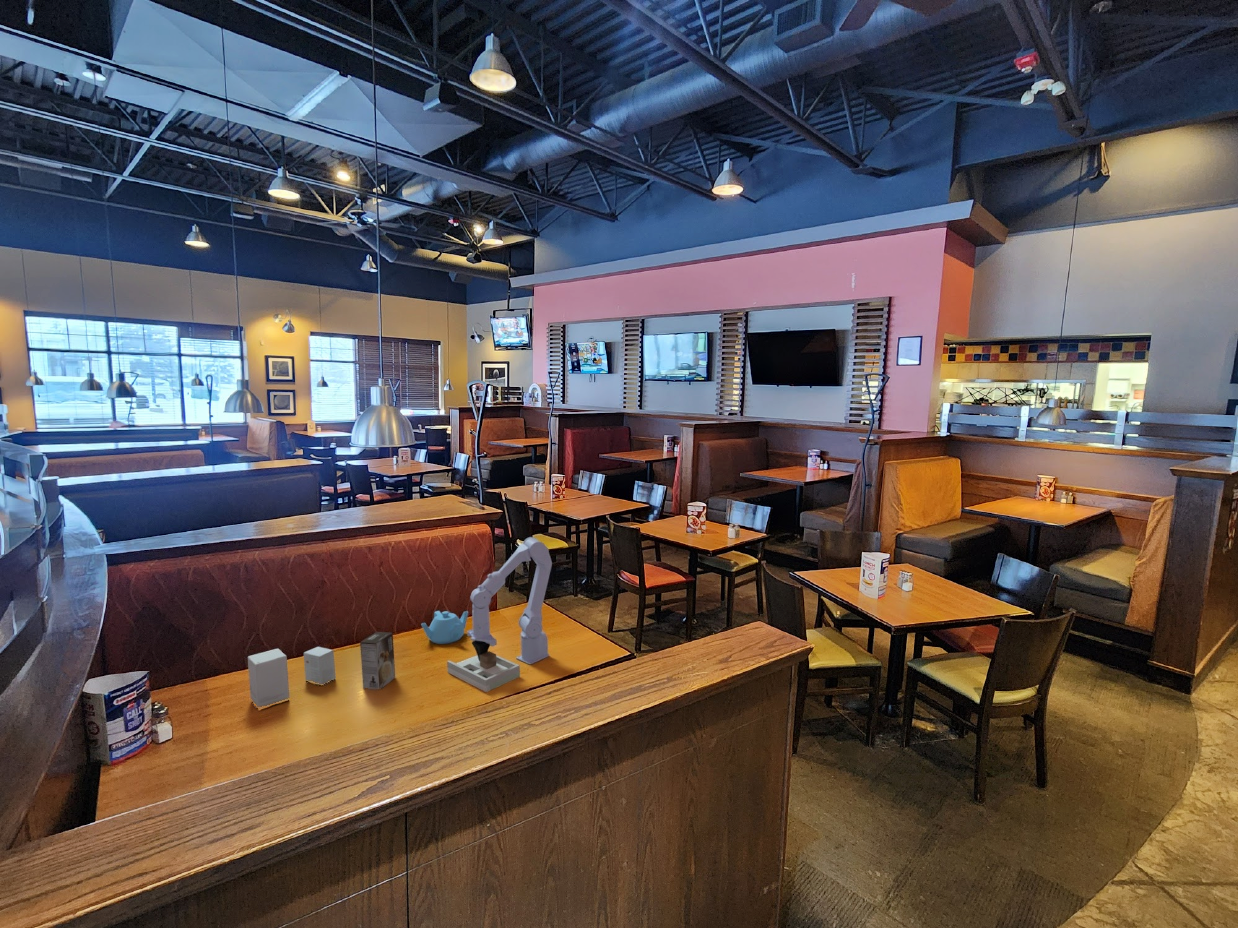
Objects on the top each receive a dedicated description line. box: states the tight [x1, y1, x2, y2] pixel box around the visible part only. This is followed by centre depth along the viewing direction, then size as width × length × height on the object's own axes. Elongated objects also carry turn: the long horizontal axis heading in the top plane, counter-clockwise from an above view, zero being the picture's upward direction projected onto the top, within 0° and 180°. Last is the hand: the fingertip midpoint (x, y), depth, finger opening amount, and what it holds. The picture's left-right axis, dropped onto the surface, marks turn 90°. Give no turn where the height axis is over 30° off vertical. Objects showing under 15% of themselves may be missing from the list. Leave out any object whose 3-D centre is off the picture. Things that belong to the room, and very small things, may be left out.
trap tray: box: [446, 654, 521, 693], centre depth 198 cm, size 14×22×4 cm, turn 49°
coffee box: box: [359, 631, 396, 690], centre depth 193 cm, size 9×6×16 cm
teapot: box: [420, 610, 469, 645], centre depth 230 cm, size 15×15×11 cm
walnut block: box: [480, 650, 497, 669], centre depth 201 cm, size 4×4×4 cm
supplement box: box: [247, 648, 290, 707], centre depth 181 cm, size 9×9×15 cm
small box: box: [303, 646, 337, 684], centre depth 195 cm, size 8×6×10 cm
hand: (482, 660), depth 203 cm, fingers closed
